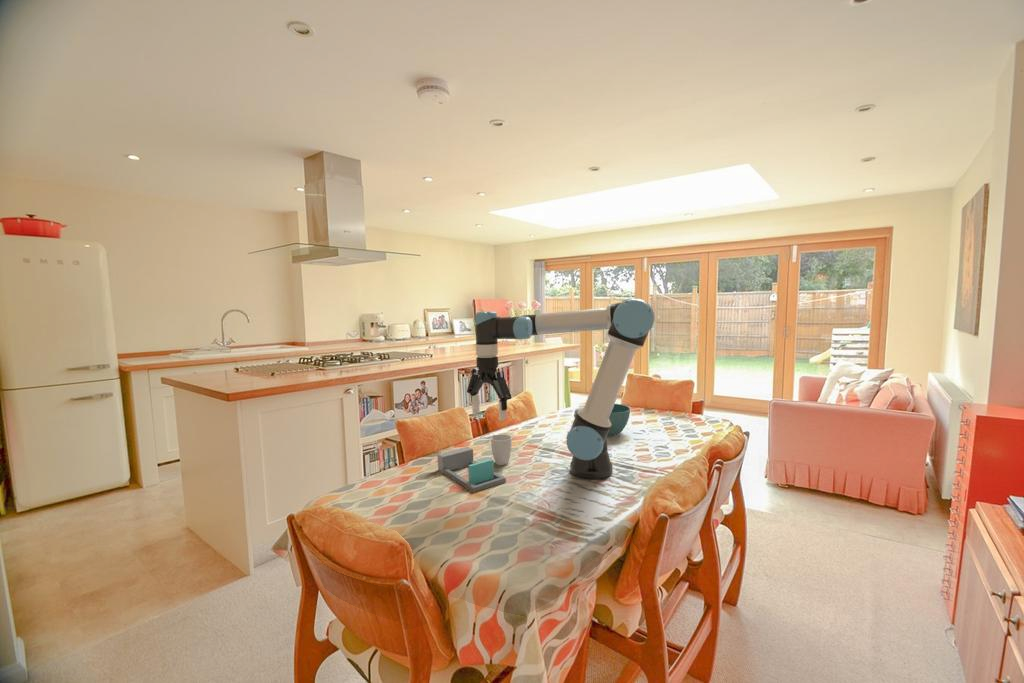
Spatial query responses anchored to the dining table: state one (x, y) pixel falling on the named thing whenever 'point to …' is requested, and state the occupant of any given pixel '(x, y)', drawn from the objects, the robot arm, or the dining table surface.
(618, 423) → the teal bowl
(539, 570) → the dining table surface
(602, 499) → the dining table surface
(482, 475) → the block
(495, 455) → the cup
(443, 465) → the tray
